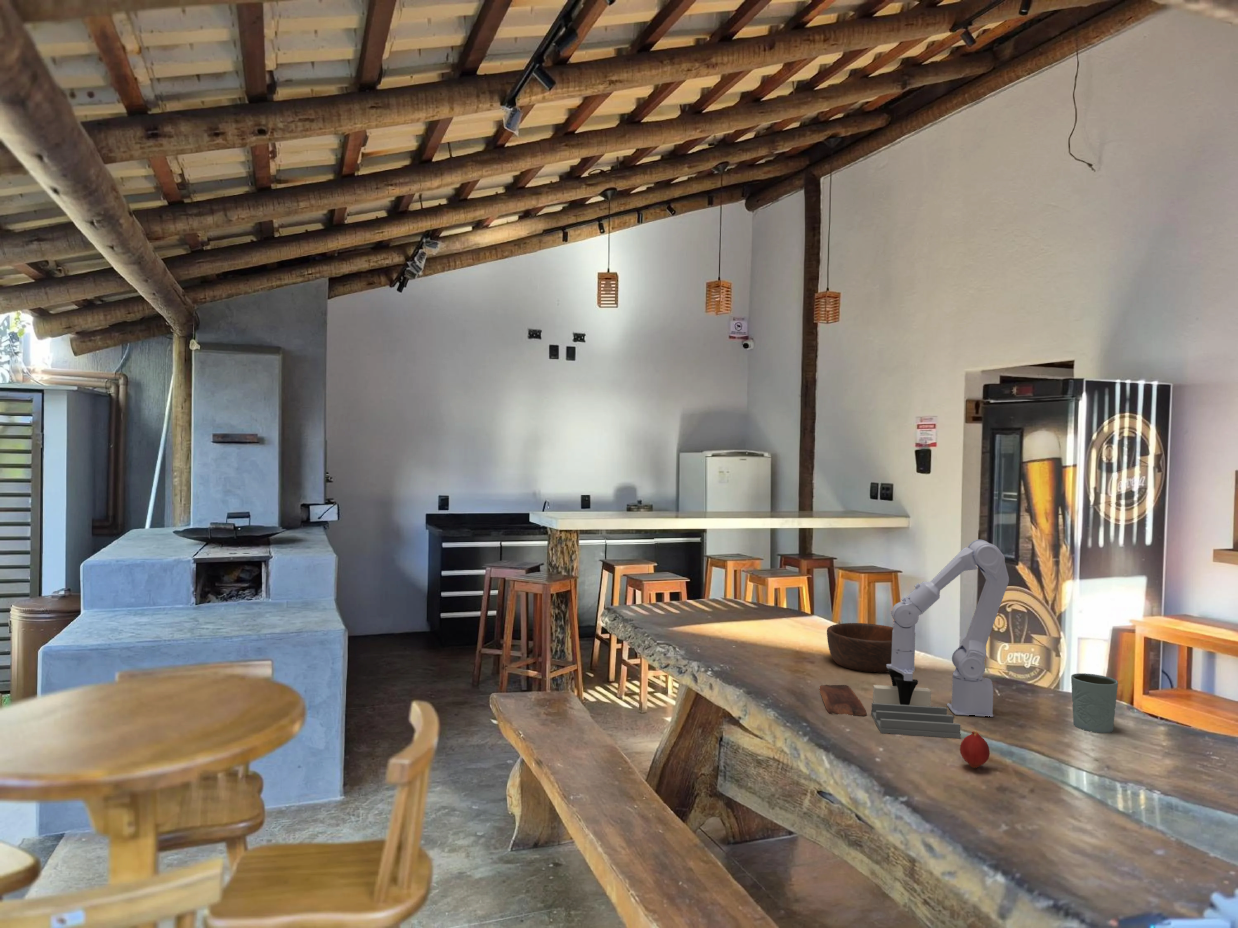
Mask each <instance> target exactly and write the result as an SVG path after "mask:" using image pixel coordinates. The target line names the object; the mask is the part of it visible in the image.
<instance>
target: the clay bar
mask: <svg viewBox="0 0 1238 928" xmlns="http://www.w3.org/2000/svg"><path fill="white" fill-rule="evenodd" d="M872 687H873V688H872V703H883V704H900V702H899V694H898V688H897V686H892V685H883V684H882V685H881V684H873V686H872ZM909 705H916V706H931V705H932V691H931V689H930V688H929V687H917V686H916V687H915V689H914V691H913V693H912V697H911V701H910V704H909Z"/></svg>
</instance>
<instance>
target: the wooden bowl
mask: <svg viewBox="0 0 1238 928" xmlns="http://www.w3.org/2000/svg"><path fill="white" fill-rule="evenodd" d="M892 631H893V626H889V625H882V624H875V623H864V622H863V623H862V622H847V623H846V622H844V623H838V624H837V623H836V624H832V625H830V626H828V627H827V629H826V636H827V637H826V638H827V645H828V650H829V653H830V656H831V658H832V660H833V661H834V662H835V664H837V665H838V666H841V667H843V668H845V669H848V670H849V669H850V670H853V671H857V672H865V673H866V672H867V673H889V671H888V668H887V667H886V664H891V656H892Z"/></svg>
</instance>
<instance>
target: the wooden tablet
mask: <svg viewBox="0 0 1238 928" xmlns="http://www.w3.org/2000/svg"><path fill="white" fill-rule="evenodd" d="M819 687H820V689H819V688H818V691H819V690H820V691H819V693H820V696H821V698H822V701H823V704H824V706H825V709H826V711H827V712H828V713H829V714H831V715H838V714H841V715H847V714H848V716H852V715H853V717H866V716H867V711H866V707H864V704H863V703H862V701H861V700H860V698H859V697H858V696H857V695H856V693H855V692H854V690H853V689H852V688H851V687H850V686H849V685H847V684H822V685H820V686H819Z"/></svg>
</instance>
